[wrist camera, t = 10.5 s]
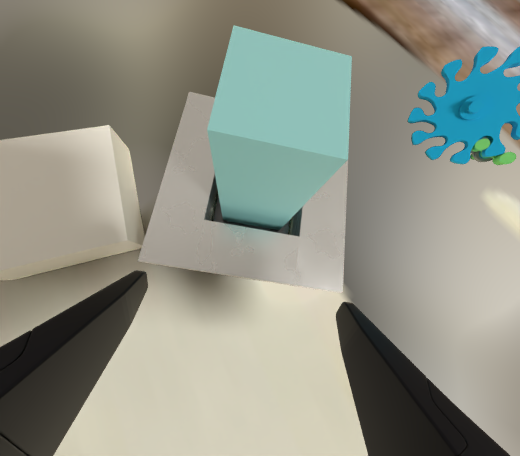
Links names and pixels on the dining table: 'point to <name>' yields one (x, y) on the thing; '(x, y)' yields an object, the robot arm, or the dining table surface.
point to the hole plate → (236, 234)
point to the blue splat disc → (473, 110)
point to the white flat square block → (65, 201)
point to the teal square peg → (277, 126)
